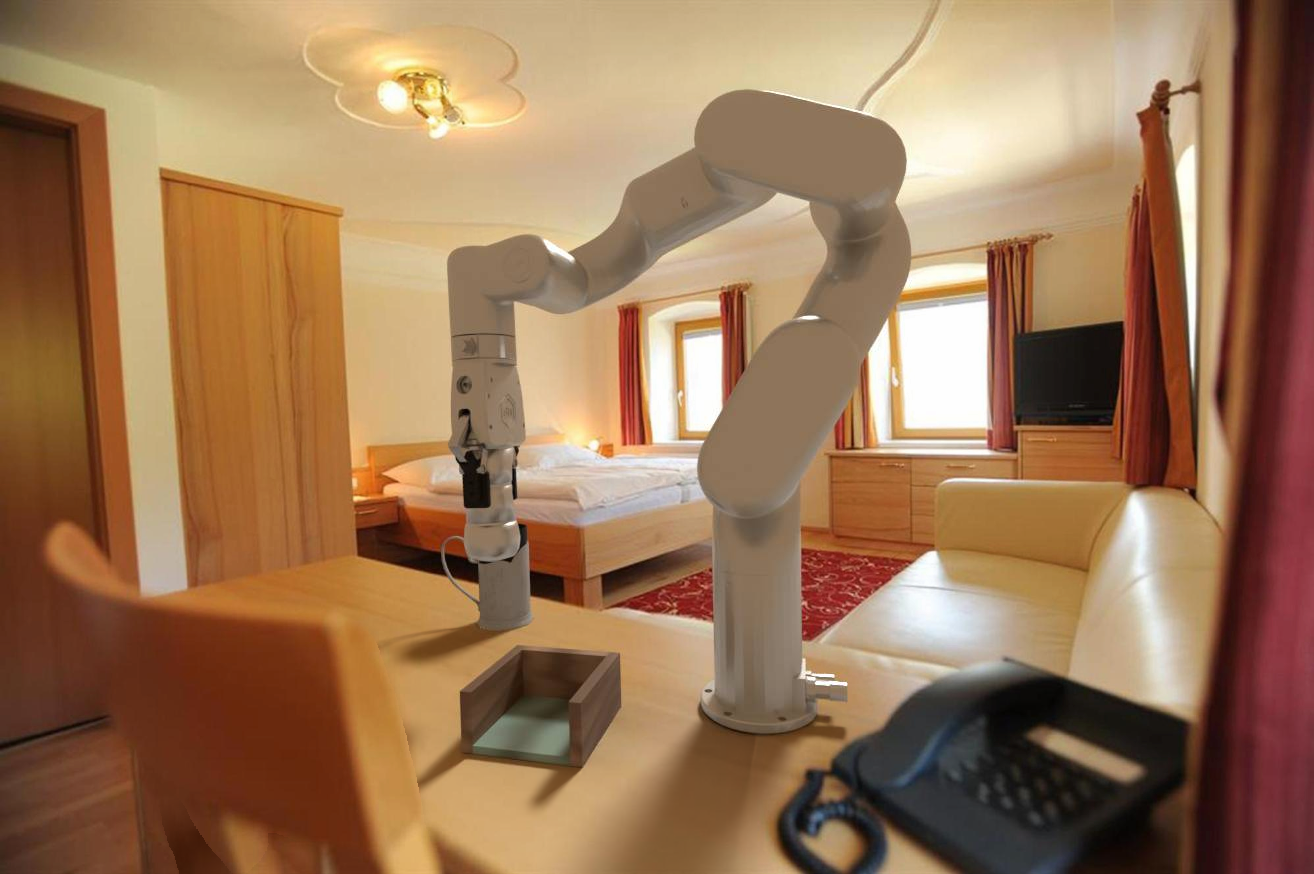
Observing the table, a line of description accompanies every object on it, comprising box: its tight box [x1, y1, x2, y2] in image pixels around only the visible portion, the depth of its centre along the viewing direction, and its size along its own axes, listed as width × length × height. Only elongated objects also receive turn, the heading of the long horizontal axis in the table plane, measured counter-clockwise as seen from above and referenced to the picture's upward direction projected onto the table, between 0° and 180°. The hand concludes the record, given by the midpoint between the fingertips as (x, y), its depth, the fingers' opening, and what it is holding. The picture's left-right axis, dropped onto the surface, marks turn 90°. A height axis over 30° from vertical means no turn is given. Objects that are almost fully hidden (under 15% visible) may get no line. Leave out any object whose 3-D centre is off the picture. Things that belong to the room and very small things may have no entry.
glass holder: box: [440, 523, 534, 632], centre depth 96 cm, size 9×14×15 cm, turn 90°
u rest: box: [459, 644, 622, 768], centre depth 63 cm, size 12×12×6 cm
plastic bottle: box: [463, 434, 520, 562], centre depth 74 cm, size 6×7×20 cm
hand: (491, 502), depth 74 cm, fingers closed on plastic bottle, 5 cm apart
